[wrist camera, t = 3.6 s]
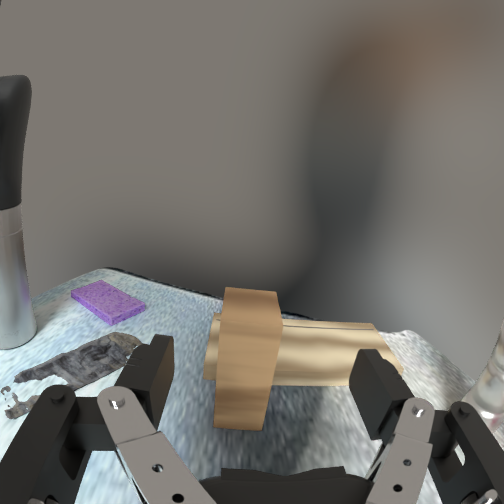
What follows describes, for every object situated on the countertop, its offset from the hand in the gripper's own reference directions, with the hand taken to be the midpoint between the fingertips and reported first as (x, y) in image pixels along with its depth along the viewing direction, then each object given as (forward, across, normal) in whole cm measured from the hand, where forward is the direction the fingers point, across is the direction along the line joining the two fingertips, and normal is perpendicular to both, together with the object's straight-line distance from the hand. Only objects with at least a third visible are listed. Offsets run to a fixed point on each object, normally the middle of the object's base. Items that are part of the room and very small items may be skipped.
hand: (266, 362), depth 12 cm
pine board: (+22, -8, +15) cm, 27 cm away
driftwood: (+13, +20, +15) cm, 28 cm away
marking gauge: (+18, 0, +15) cm, 23 cm away
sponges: (+30, +22, +15) cm, 40 cm away
